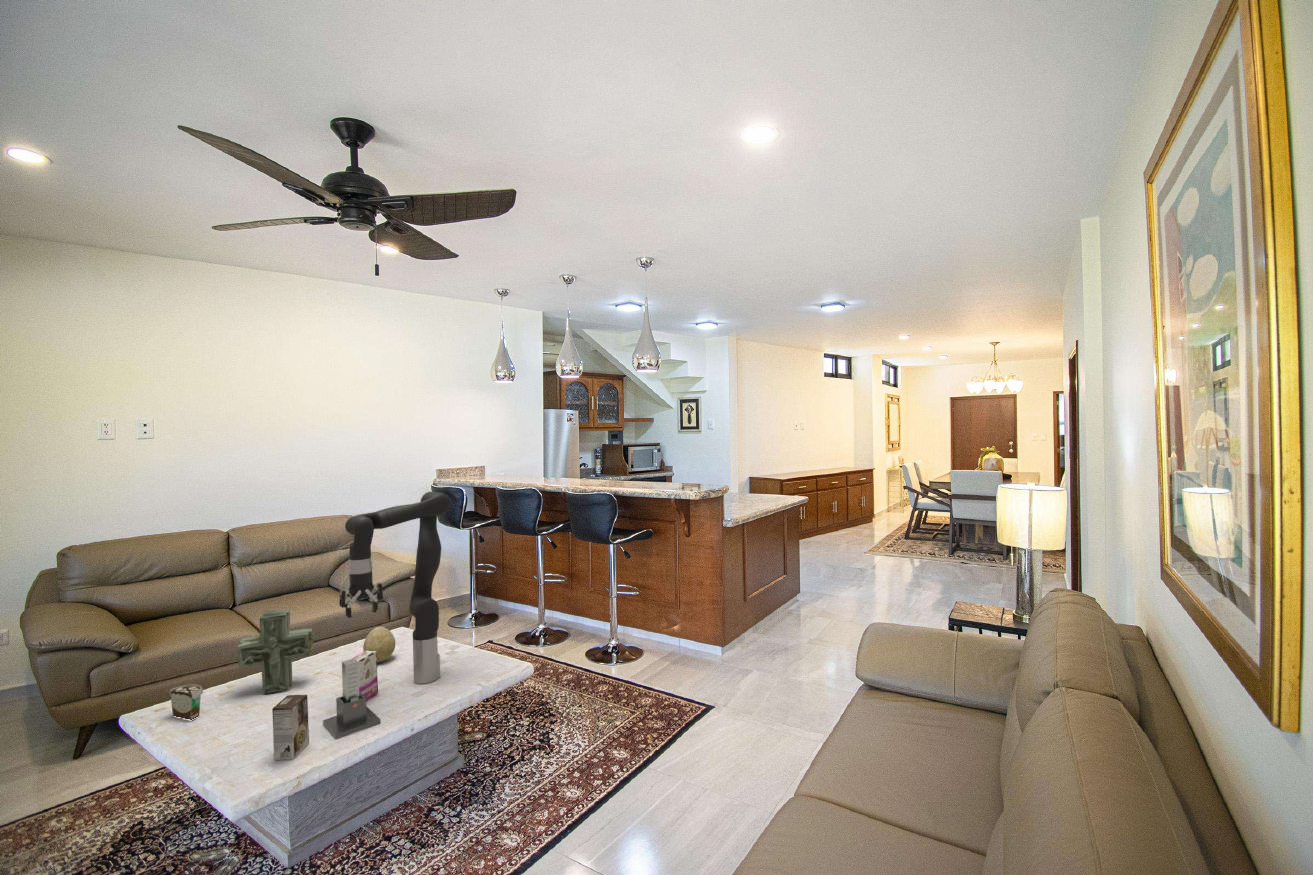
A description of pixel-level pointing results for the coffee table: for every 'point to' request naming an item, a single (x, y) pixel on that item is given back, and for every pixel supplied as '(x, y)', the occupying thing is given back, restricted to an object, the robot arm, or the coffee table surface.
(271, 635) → the religious sculpture
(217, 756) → the coffee table surface
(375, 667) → the candy bar box
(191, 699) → the food container
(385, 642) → the fossilized egg
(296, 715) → the coffee box
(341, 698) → the jack stand base
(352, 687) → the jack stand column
